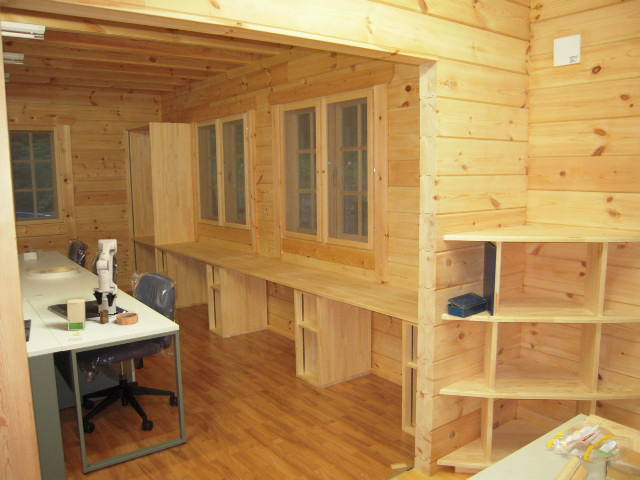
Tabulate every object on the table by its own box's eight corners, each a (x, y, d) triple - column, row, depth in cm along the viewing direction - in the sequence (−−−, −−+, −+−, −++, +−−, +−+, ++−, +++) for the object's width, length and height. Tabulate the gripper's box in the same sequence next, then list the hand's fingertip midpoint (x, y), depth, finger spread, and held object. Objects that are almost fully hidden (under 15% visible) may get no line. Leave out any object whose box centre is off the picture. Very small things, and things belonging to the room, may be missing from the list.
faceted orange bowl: (112, 323, 301) (112, 316, 300) (127, 318, 311) (127, 311, 310) (127, 326, 296) (127, 319, 295) (142, 321, 306) (141, 314, 305)
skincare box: (67, 331, 287) (66, 302, 284) (69, 327, 293) (68, 299, 291) (84, 330, 289) (83, 301, 287) (86, 326, 295) (84, 298, 293)
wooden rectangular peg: (100, 323, 300) (99, 311, 299) (105, 321, 304) (105, 309, 303) (103, 324, 299) (102, 312, 298) (108, 322, 303) (108, 310, 302)
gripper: (88, 281, 297) (89, 305, 299) (108, 284, 292) (109, 308, 294) (98, 279, 304) (99, 302, 306) (118, 281, 298) (119, 305, 300)
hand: (105, 305), depth 300 cm, fingers open, 7 cm apart
